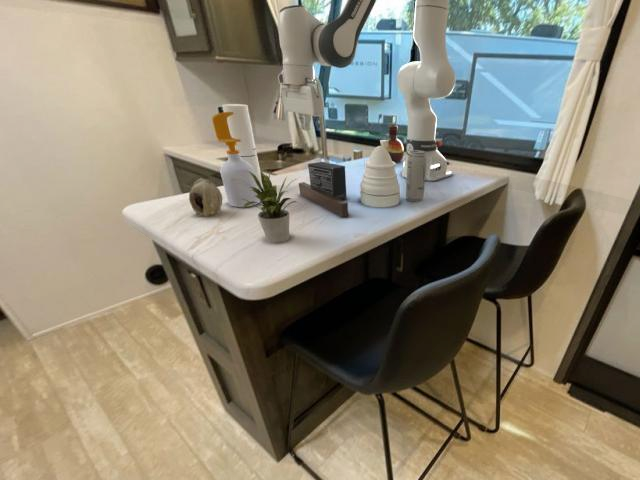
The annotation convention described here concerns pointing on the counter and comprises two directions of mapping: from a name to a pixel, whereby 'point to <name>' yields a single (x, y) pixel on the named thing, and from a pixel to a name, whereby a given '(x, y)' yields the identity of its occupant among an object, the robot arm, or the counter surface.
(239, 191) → the spray bottle
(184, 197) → the counter surface
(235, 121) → the cylindrical container
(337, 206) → the back rail
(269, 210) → the house plant
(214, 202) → the round stone pot
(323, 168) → the small box
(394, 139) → the vase
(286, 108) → the robot arm
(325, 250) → the counter surface
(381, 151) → the honey pot
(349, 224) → the counter surface
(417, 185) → the energy drink can
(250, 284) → the counter surface
